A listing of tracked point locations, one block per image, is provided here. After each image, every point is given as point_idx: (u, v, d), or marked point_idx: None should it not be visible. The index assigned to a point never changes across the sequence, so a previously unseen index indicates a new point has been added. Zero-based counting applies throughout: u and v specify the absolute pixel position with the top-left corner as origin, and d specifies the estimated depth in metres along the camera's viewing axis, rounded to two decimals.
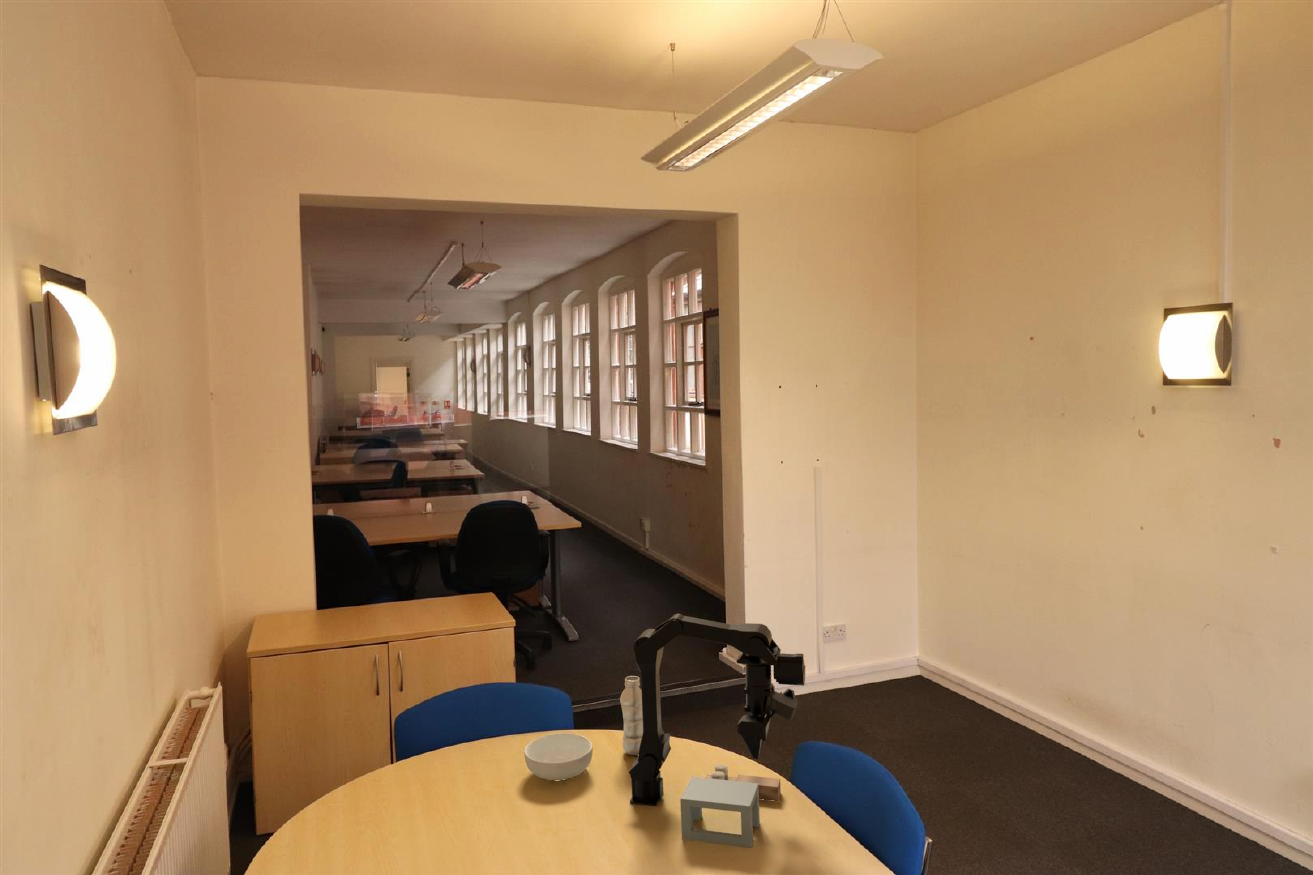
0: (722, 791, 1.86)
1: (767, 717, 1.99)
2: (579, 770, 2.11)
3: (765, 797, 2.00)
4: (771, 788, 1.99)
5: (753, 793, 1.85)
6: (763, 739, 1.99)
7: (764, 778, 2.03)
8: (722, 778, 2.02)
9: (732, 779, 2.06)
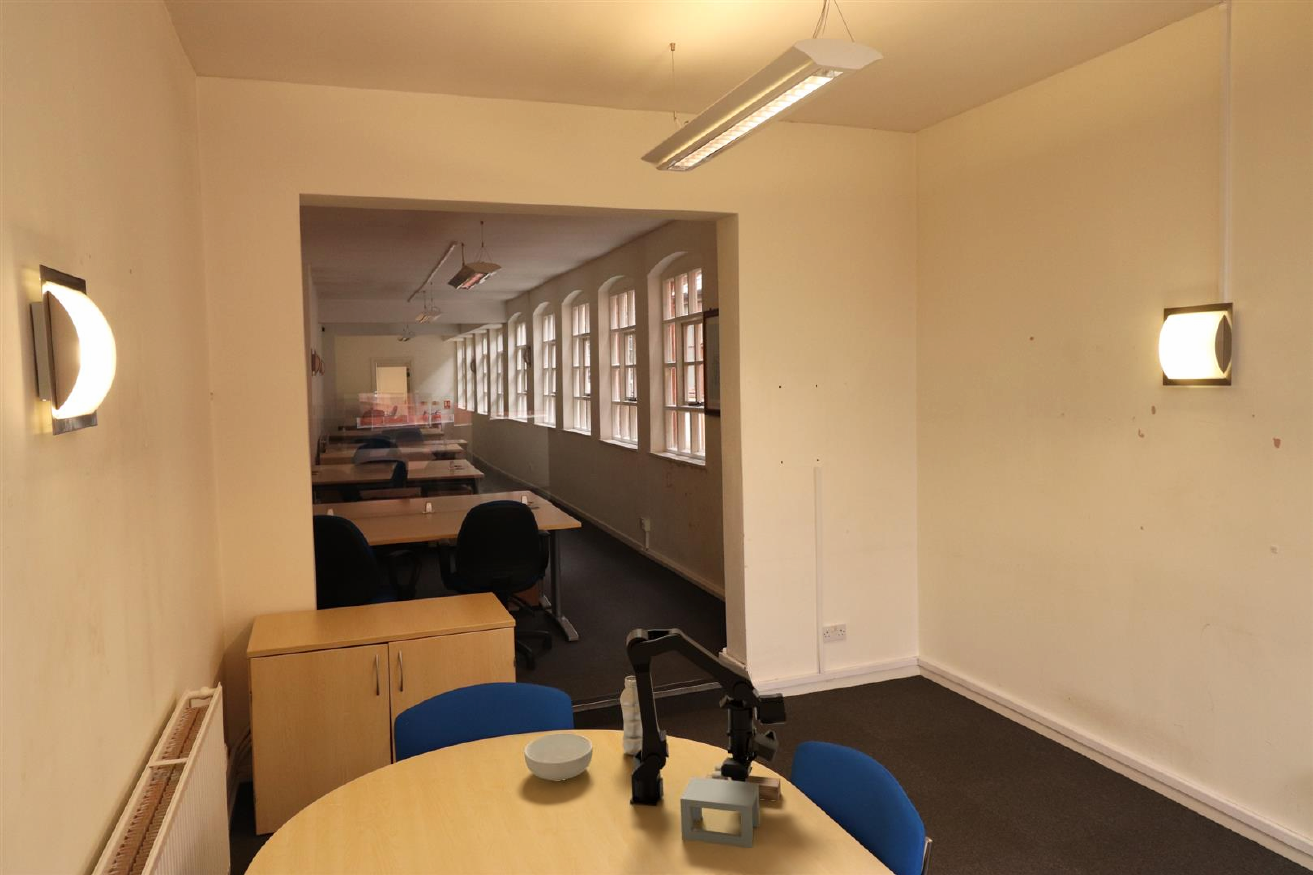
0: (722, 791, 1.86)
1: None
2: (579, 770, 2.11)
3: (765, 797, 2.00)
4: (771, 788, 1.99)
5: (753, 793, 1.85)
6: None
7: (764, 778, 2.03)
8: (722, 778, 2.02)
9: None
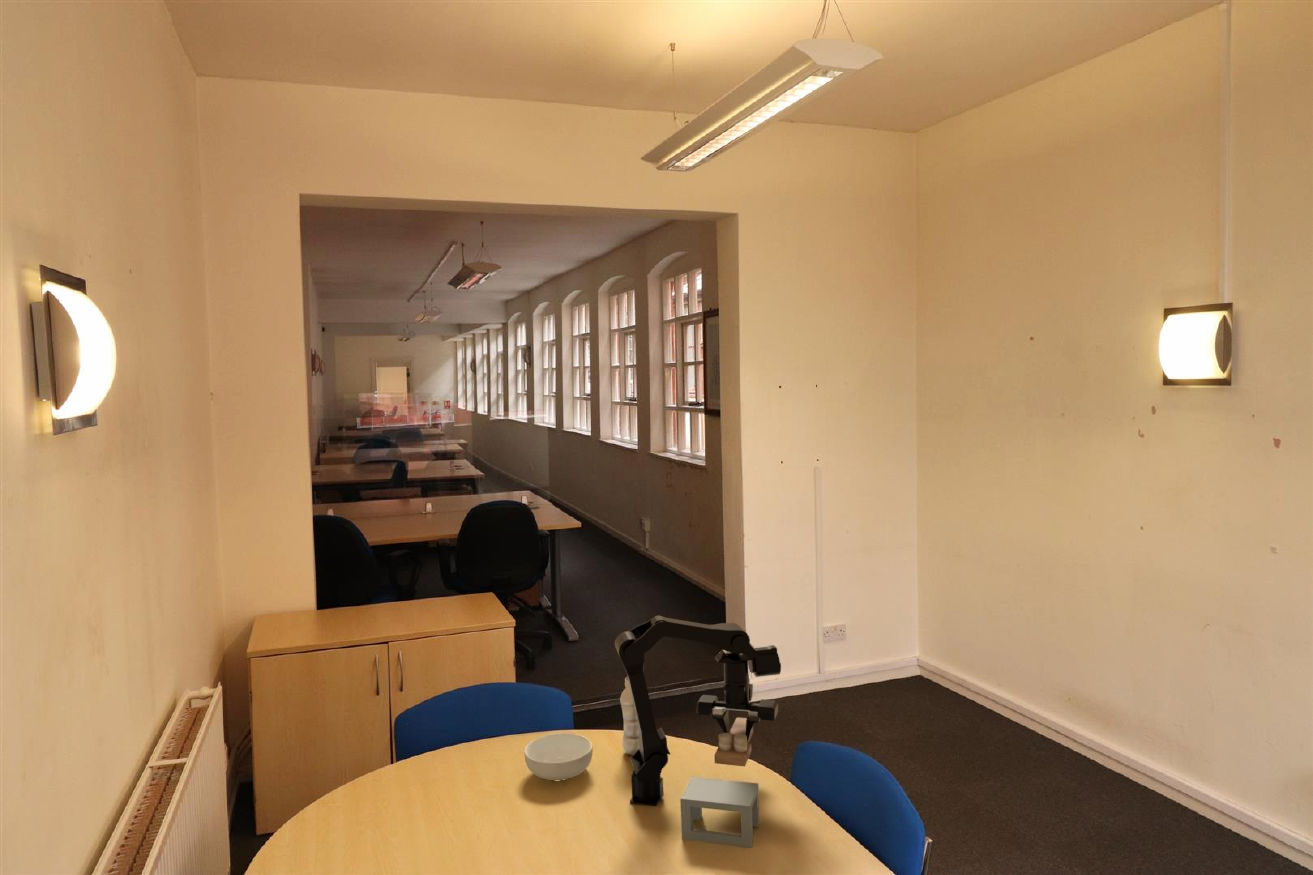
0: (722, 791, 1.86)
1: (727, 717, 2.07)
2: (579, 770, 2.11)
3: None
4: None
5: (753, 793, 1.85)
6: None
7: (736, 723, 2.11)
8: None
9: None
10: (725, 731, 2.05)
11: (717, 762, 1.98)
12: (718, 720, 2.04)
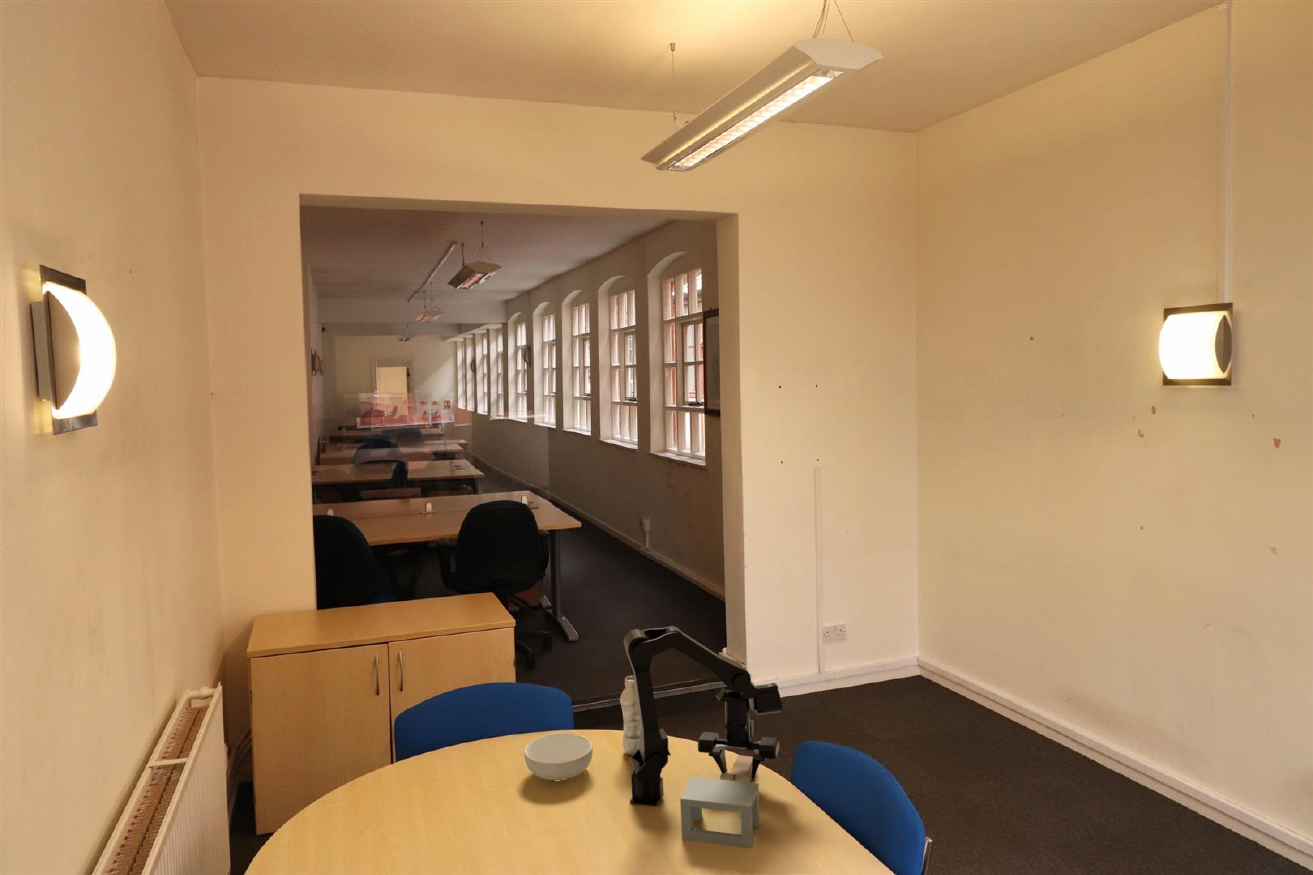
0: (722, 791, 1.86)
1: (724, 754, 2.08)
2: (579, 770, 2.11)
3: None
4: None
5: (753, 793, 1.85)
6: None
7: (737, 762, 2.12)
8: None
9: None
10: (722, 768, 2.06)
11: None
12: (715, 757, 2.05)
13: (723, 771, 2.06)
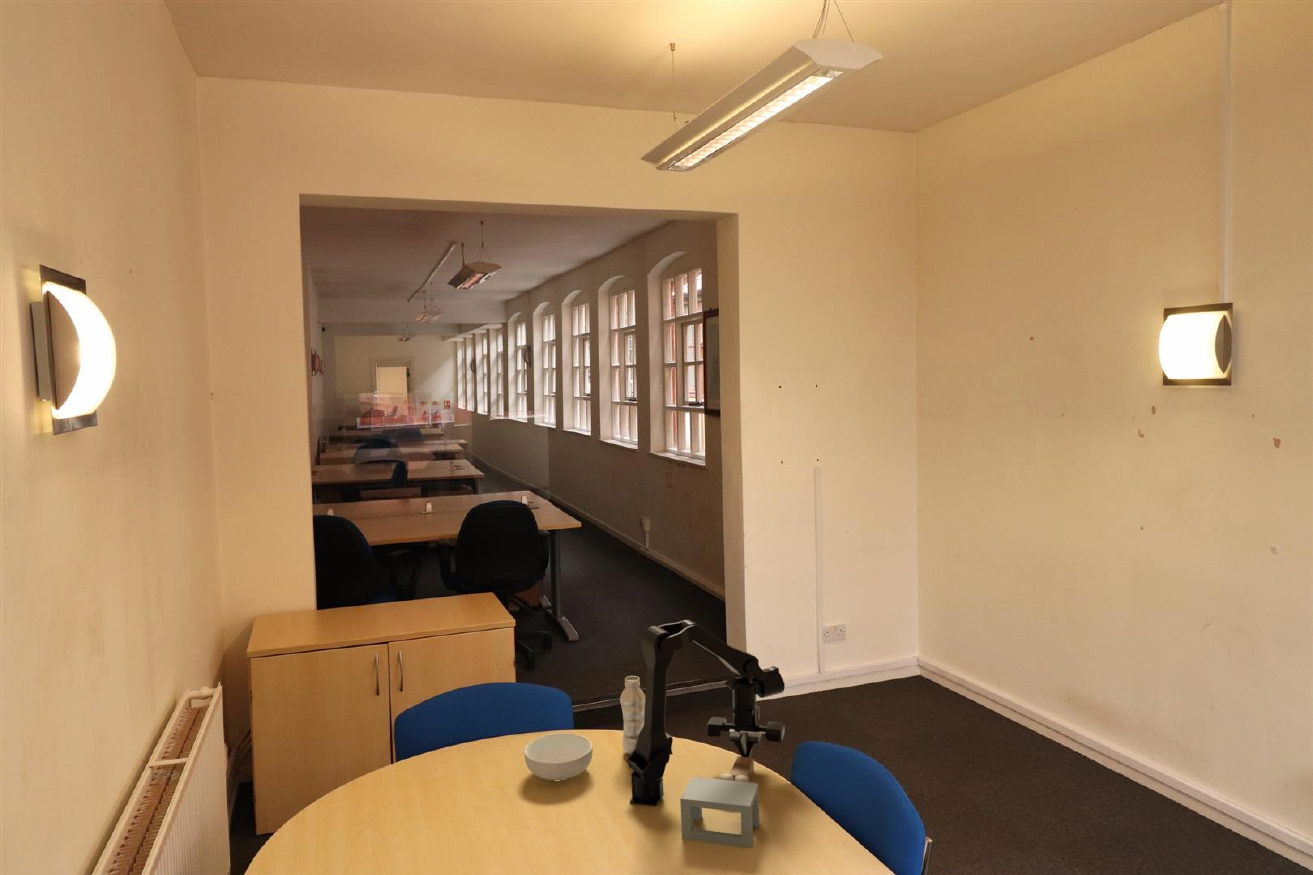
0: (722, 791, 1.86)
1: (744, 739, 2.16)
2: (579, 770, 2.11)
3: (751, 773, 2.11)
4: (752, 761, 2.12)
5: (753, 793, 1.85)
6: None
7: (737, 762, 2.11)
8: None
9: None
10: (742, 752, 2.14)
11: None
12: (735, 742, 2.13)
13: (743, 755, 2.14)
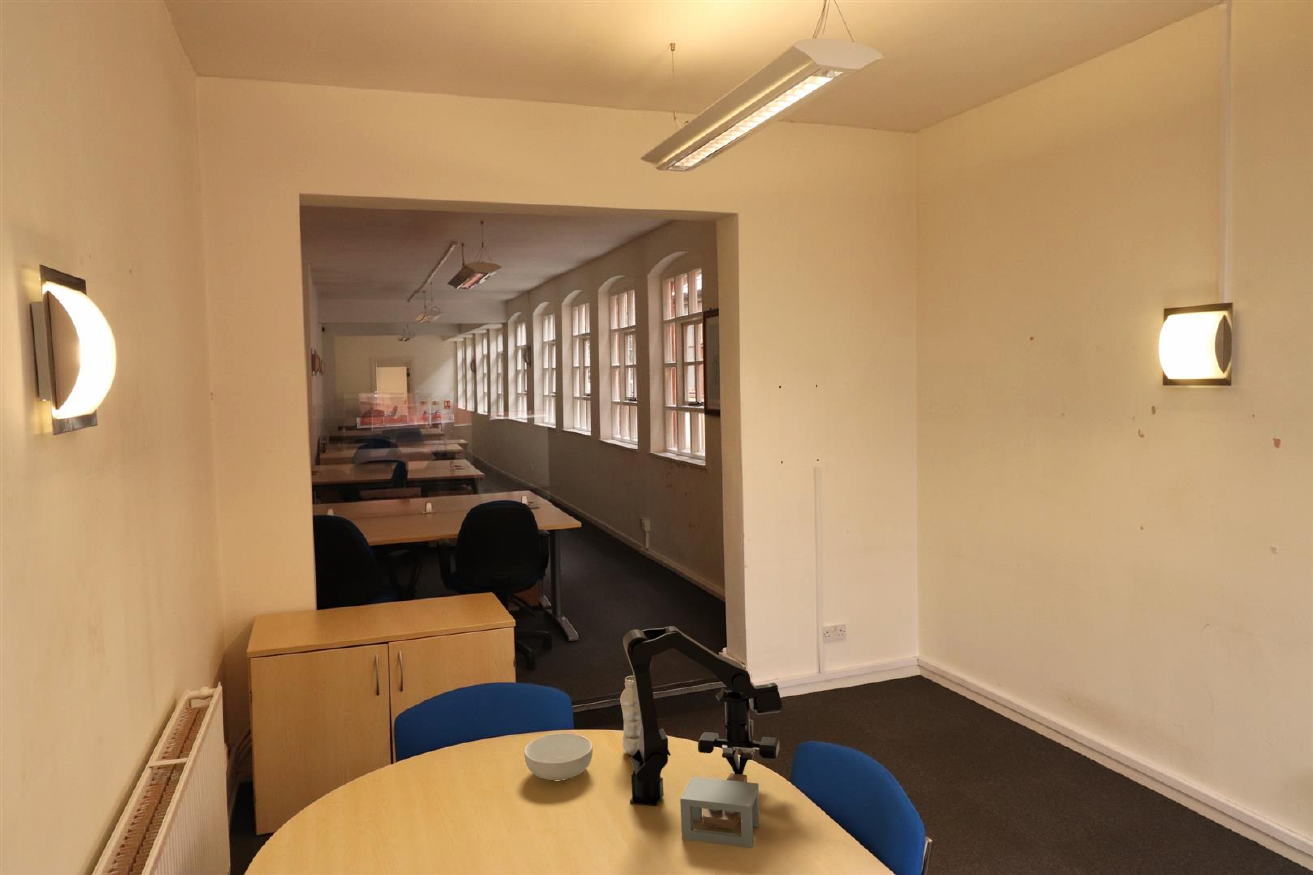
0: (722, 791, 1.86)
1: (737, 755, 2.07)
2: (579, 770, 2.11)
3: None
4: (745, 779, 2.04)
5: (753, 793, 1.85)
6: None
7: None
8: None
9: None
10: (735, 769, 2.05)
11: (705, 824, 1.90)
12: (728, 759, 2.04)
13: (736, 772, 2.05)
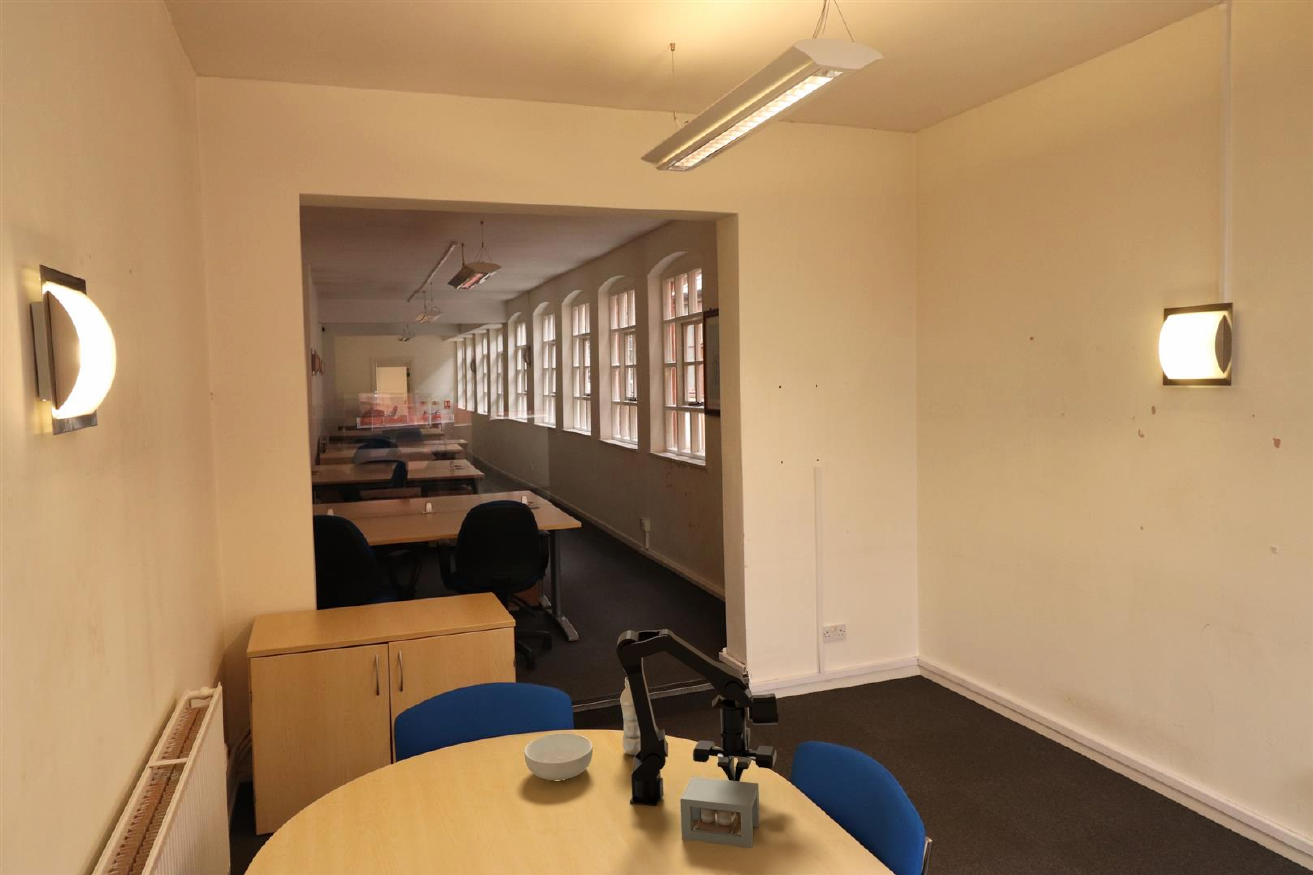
0: (722, 791, 1.86)
1: (733, 764, 2.03)
2: (579, 770, 2.11)
3: None
4: None
5: (753, 793, 1.85)
6: None
7: None
8: None
9: None
10: (731, 779, 2.01)
11: None
12: (724, 768, 2.00)
13: None
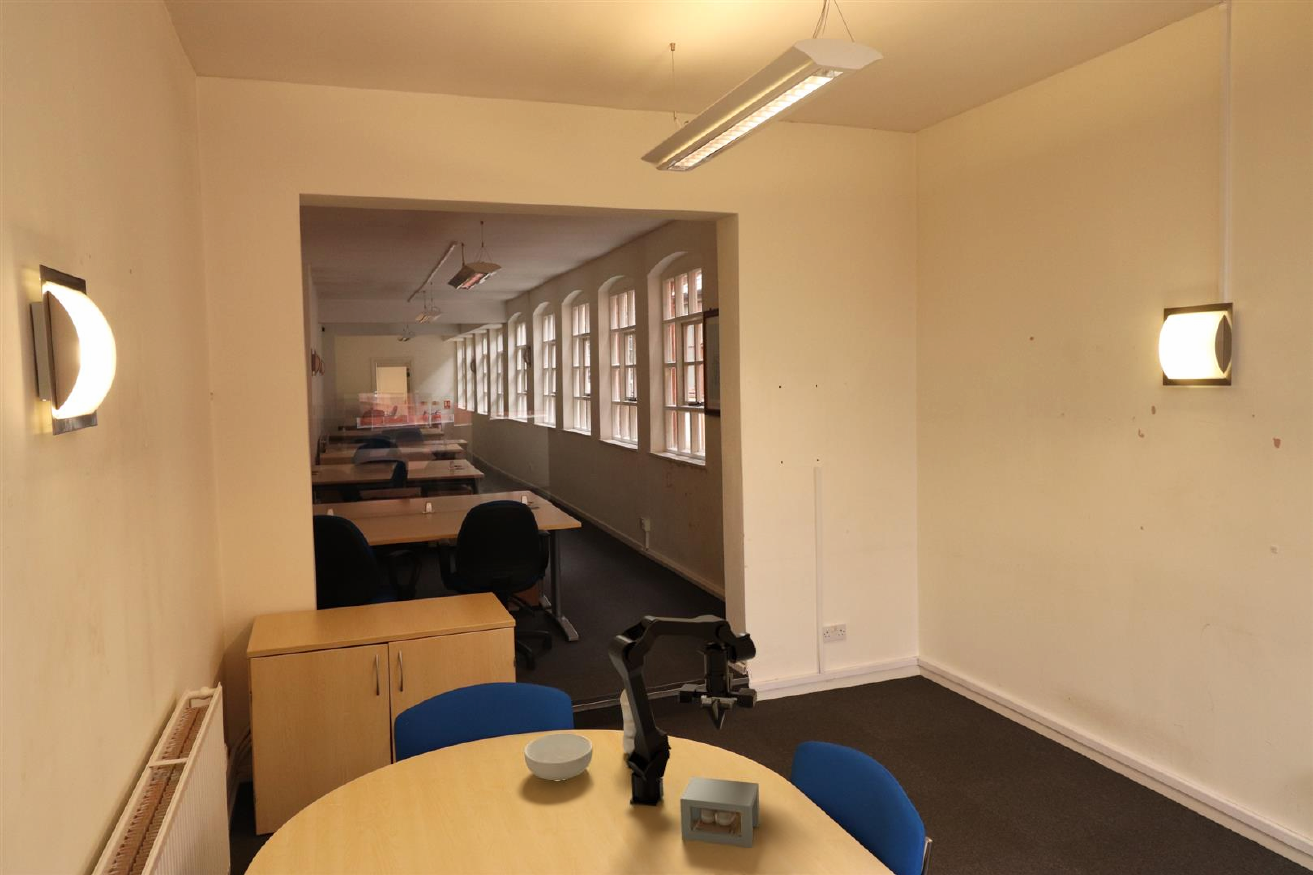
0: (722, 791, 1.86)
1: (716, 706, 2.14)
2: (579, 770, 2.11)
3: None
4: None
5: (753, 793, 1.85)
6: None
7: None
8: None
9: None
10: (714, 719, 2.11)
11: None
12: (707, 709, 2.10)
13: (715, 722, 2.12)
